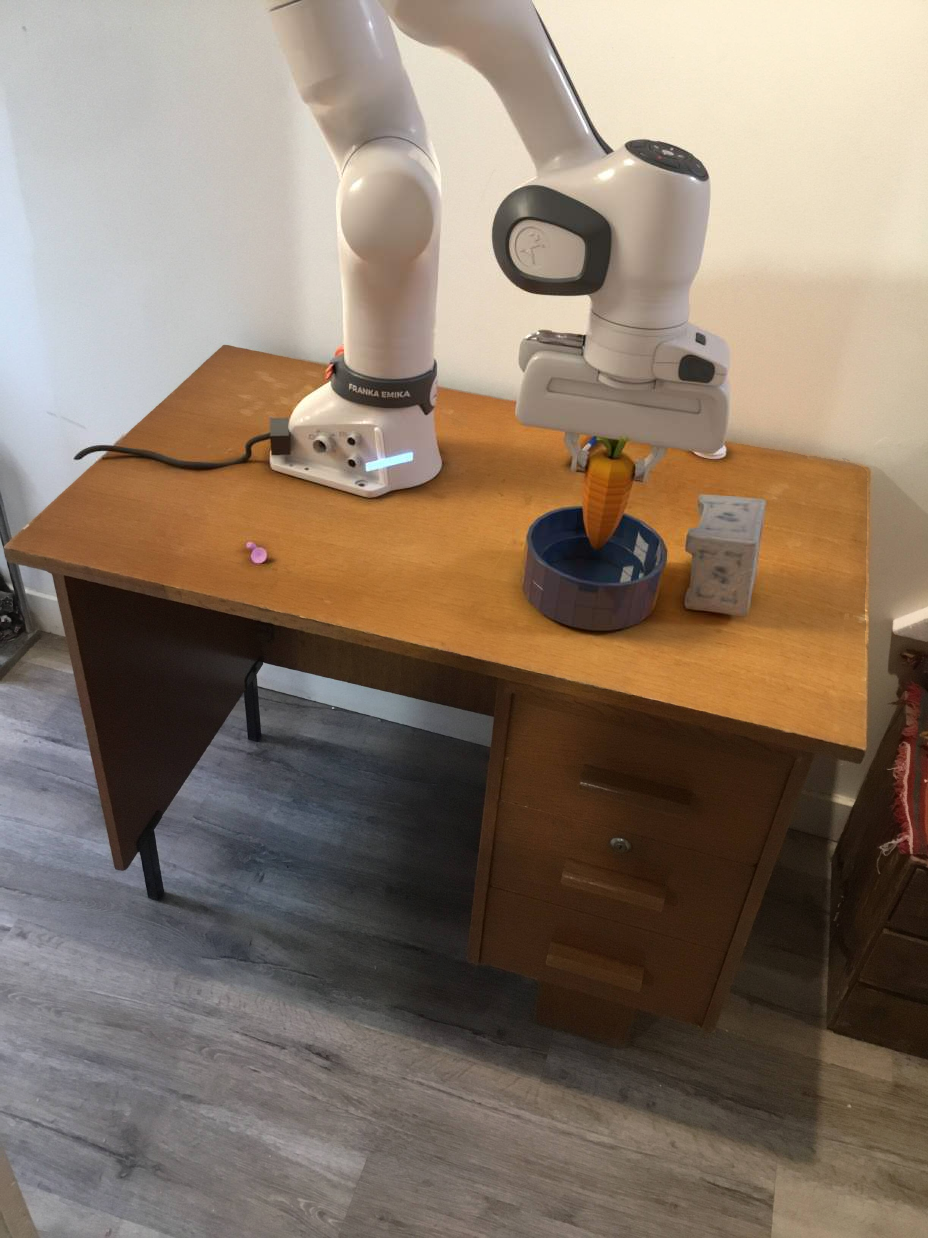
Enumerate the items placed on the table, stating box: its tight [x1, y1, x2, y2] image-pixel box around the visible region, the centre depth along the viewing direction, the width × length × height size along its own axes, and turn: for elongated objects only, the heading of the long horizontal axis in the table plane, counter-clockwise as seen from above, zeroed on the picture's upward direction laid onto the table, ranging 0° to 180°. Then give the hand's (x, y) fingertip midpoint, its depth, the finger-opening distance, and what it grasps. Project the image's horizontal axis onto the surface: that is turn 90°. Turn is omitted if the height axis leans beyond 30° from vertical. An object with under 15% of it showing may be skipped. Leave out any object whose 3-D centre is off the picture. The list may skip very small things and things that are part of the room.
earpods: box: [246, 541, 268, 564], centre depth 103 cm, size 3×2×2 cm
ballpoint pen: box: [569, 436, 598, 466], centre depth 126 cm, size 10×1×1 cm, turn 154°
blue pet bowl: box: [520, 505, 668, 632], centre depth 99 cm, size 15×15×6 cm
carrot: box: [582, 436, 636, 550], centre depth 93 cm, size 5×5×15 cm
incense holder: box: [684, 493, 767, 617], centre depth 99 cm, size 10×8×10 cm
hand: (609, 474), depth 92 cm, fingers closed on carrot, 5 cm apart
